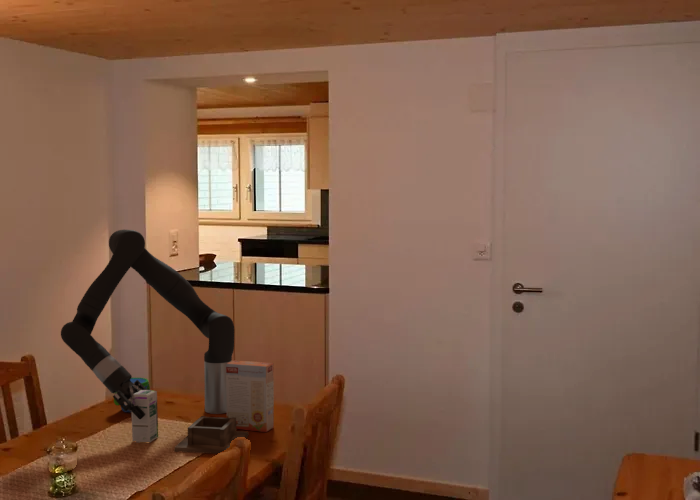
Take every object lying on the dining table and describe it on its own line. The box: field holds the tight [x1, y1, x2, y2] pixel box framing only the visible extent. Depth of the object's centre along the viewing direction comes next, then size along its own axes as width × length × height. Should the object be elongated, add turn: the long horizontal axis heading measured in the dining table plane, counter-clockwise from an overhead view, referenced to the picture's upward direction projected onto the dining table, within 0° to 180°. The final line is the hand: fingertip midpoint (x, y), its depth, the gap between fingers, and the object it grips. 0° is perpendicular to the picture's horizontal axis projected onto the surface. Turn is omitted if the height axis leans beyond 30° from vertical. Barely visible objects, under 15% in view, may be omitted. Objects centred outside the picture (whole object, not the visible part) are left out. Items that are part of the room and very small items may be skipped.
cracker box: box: [226, 360, 275, 433], centre depth 236 cm, size 14×6×21 cm, turn 71°
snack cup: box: [113, 377, 151, 413], centre depth 256 cm, size 16×10×10 cm
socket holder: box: [173, 415, 249, 455], centre depth 222 cm, size 17×17×6 cm
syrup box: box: [130, 389, 159, 443], centre depth 224 cm, size 6×6×14 cm
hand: (148, 413), depth 224 cm, fingers open, 8 cm apart
